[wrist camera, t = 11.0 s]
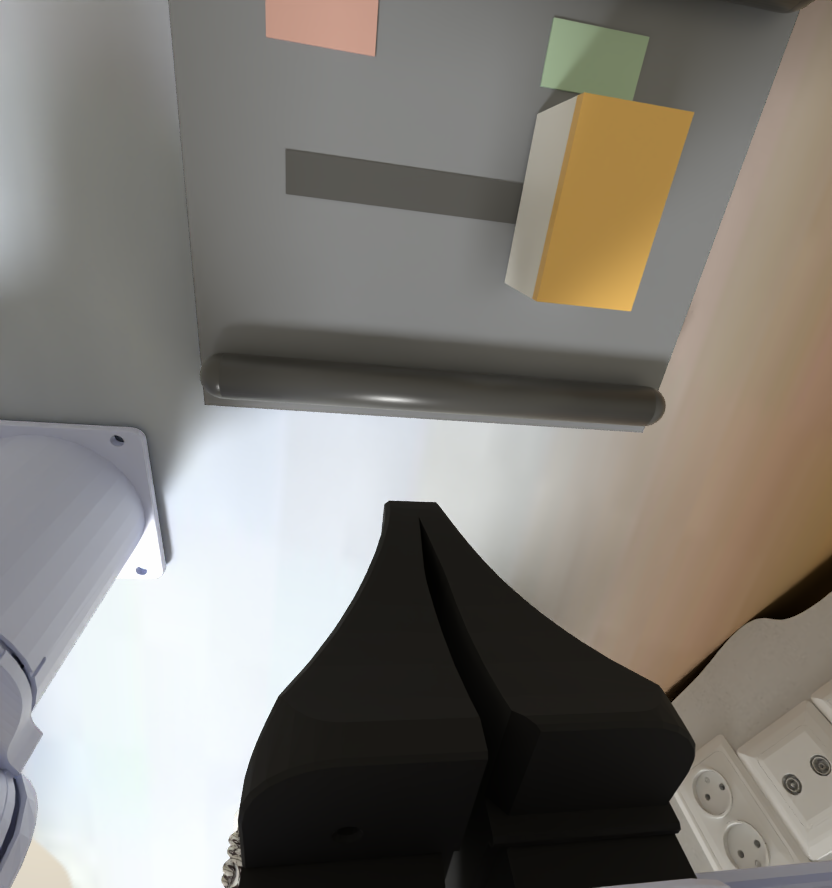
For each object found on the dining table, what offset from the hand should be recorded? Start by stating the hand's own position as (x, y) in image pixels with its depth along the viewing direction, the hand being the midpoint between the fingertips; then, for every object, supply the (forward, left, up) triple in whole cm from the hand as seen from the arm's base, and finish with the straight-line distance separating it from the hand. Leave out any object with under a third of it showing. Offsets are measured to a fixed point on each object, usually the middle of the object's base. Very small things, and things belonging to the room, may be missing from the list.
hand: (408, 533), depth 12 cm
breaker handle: (+5, +8, -7) cm, 12 cm away
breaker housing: (+2, +8, -9) cm, 13 cm away
